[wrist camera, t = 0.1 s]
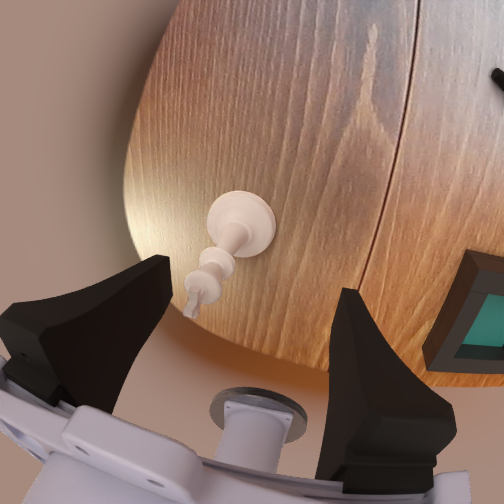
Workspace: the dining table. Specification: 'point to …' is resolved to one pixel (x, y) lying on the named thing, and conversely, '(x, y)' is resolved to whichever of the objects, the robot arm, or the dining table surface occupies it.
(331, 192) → the dining table surface
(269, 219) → the chess piece
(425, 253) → the dining table surface
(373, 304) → the dining table surface
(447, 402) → the robot arm
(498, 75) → the pen
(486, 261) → the tray
